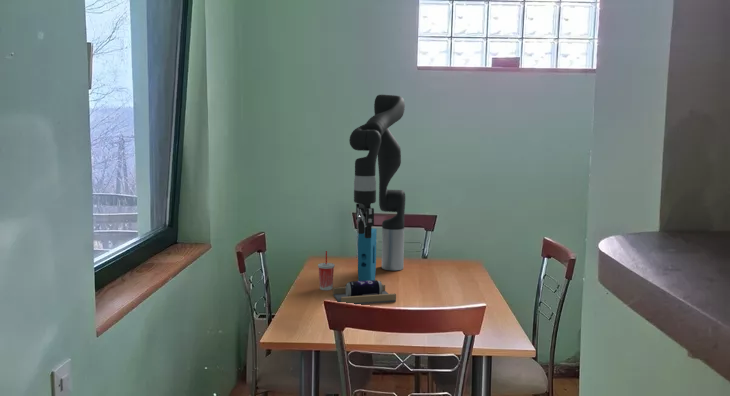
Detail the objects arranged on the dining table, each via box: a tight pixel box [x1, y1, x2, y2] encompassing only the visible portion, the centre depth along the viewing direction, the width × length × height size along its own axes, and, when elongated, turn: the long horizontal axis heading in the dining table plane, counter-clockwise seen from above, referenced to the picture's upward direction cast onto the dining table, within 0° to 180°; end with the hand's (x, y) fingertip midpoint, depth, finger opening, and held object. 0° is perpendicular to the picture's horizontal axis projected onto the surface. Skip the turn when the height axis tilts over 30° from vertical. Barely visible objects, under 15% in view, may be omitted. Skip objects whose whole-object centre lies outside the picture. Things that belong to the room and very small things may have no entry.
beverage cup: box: [317, 250, 335, 291], centre depth 223 cm, size 6×6×14 cm
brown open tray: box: [332, 284, 397, 305], centre depth 211 cm, size 13×19×3 cm
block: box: [357, 227, 377, 281], centre depth 232 cm, size 12×5×20 cm, turn 168°
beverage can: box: [345, 279, 383, 297], centre depth 210 cm, size 6×6×12 cm
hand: (364, 235), depth 209 cm, fingers open, 8 cm apart
